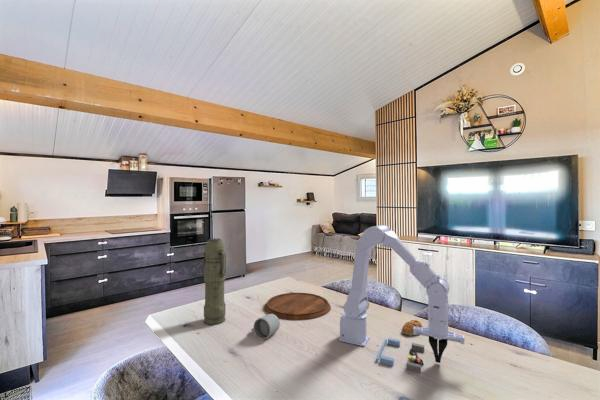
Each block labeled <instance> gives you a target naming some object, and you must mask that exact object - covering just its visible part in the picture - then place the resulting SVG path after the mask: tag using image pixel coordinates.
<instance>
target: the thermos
mask: <svg viewBox="0 0 600 400" xmlns="http://www.w3.org/2000/svg"><path fill="white" fill-rule="evenodd" d="M203 260H204V261H203V281H204V306H203V318H204V321H203V324H205V325H207V326H218V325H221V324H223V323H224V322H225V321H226V311H227V310H226V306H227V305H226V302H225V281H226V272H227V254H226V252H225V245H224V242H223V240H222V239H221V238H209V239H208V240H206V244H205V250H204V252H203Z"/></svg>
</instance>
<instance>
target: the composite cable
mask: <svg viewBox="0 0 600 400" xmlns="http://www.w3.org/2000/svg"><path fill="white" fill-rule="evenodd" d="M409 354H410V355H409V356H408V357H407V362H411V363H415V364H419V365H421V367H422V366H424V364H425V363H424V361H423V359H422V358H420V357H419V356H418V352H417V350H413V349H412V348H410V349H409Z"/></svg>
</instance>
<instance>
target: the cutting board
mask: <svg viewBox="0 0 600 400" xmlns="http://www.w3.org/2000/svg"><path fill="white" fill-rule="evenodd" d="M331 307H332V306H331V303H330V302H328V300H327V299H326V298H325V297H324V296H320V295H318V294H314V293H309V292H288V293H287V292H286V293H281V294H277V295H274V296H272V297H270V298H269V299H267V301H266V303H265V305H264V311H265V312H266V313H267V314H274V315H276V316H277V317H278V319H279V320H280V319H281V320H285V321H287V320H288V321H308V320H314V319H318V318H321V317H324V316H326V315H328V314H329V312H331Z"/></svg>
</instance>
